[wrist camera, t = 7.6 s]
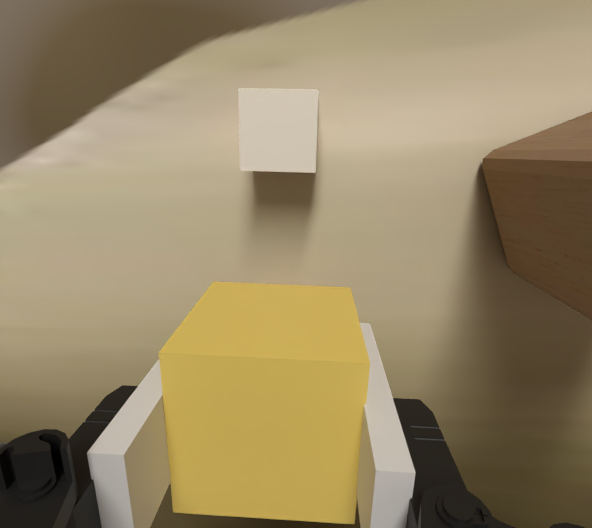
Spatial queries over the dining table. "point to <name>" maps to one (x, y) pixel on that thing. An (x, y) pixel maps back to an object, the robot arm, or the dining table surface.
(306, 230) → the dining table surface
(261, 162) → the cream cube
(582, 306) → the wooden block
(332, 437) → the mustard cube
